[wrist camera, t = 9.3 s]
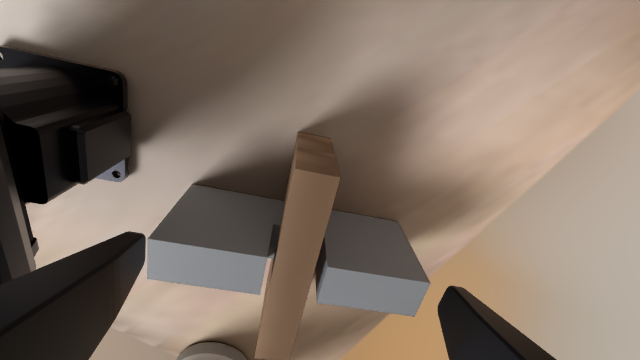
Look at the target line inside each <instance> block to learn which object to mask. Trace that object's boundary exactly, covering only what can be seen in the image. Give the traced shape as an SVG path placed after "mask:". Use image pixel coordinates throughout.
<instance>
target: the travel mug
mask: <svg viewBox="0 0 640 360" xmlns="http://www.w3.org/2000/svg"><path fill="white" fill-rule="evenodd" d="M177 360H247V359H246V357H245V356H244V355H243V354H242V353H241V352H240V351H239V350H237V349H235V348H234V347H231V346H229V345H226V344H222V343H216V342H205V343H198V344H195V345H192V346H190V347H188V348H186V349H185V350H184V351H182V352H181V353H180V355H179V356H178V357H177Z"/></svg>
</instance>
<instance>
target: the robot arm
mask: <svg viewBox="0 0 640 360" xmlns="http://www.w3.org/2000/svg"><path fill="white" fill-rule="evenodd" d="M0 52H1V53H2V54H3V57H4V60H3V59H2V58H1V57H0V360H88V359H89V358H90V357H91V355H92V354H93V352H94V351H95V349H96V348H97V346H98V345H99V343H100V342H101V340H102V338H103V337H104V335H105V334H106V332H107V331H108V329H109V328H110V326H111V325H112V323H113V322H114V320H115V319H116V317H117V315H118V313H119V311H120V309H121V308H122V306H123V304H124V302H125V300H126V298H127V296H128V294H129V292H130V290H131V288H132V286H133V284H134V283H135V281H136V279H137V277H138V275H139V273H140V271H141V269H142V267H143V265H144V262H145V242H146V239H145V235H144V234H142V233H136V232H125V233H123V234H120V235H118V236H116V237H113V238H111V239H108V240H106V241H104V242H101V243H99V244H96V245H94V246H92V247H89V248H87V249H84V250H82V251H80V252H77V253H75V254H72V255H70V256H68V257H65V258H63V259H60V260H58V261H56V262H53V263H51V264H48V265H46V266H44V267H41V268H39V269H37V270H36V264H35V260H34V256H35V255H36V253H37V251H38V250H39V247H38V242H37V239H36V238H34V237H33V235H32V231H31V226H30V222H29V218H28V214H27V210H26V206H25V205H26V204H28V203H30V202H31V203H38V204H46V203H47V202H49V201H51V200H52V199H54V198H56V197H57V196H59V195H60V194H62V193H64V192H65V191H67V190H69V189H70V188H72V187H74V186H75V185H77V184H86V183H88V182H89V181H91V180H92V179H94V178H98V179H104V180H110V181H115V182H121V181H123V180H124V179H126V178H127V177H128V174H129V169H128V157H129V156H130V155H131V115H130V114H129V112H128V111H127V81H126V78H125V76H124V75H123V74H122V73H121V72H118V71H115V70H111V69H106V68H102V67H97V66H93V65H88V64H84V63H79V62H75V61H70V60H66V59H61V58H57V57H52V56H48V55H43V54H39V53H34V52H30V51H25V50H21V49H17V48H12V47H8V46H0ZM113 76H114V77H115V78H116V79H117V80H118V84H117V85H116V84H114V83H113V81H112V78H113ZM116 171H119V172H120V174H121V176H120V175H118V174H117V173H116ZM438 315H439V319H440V323H441V328H442V332H443V336H444V340H445V344H446V348H447V352H448V356H449V360H556V359H555V358H554V357H552V356H551V355H549V354H548V353H547V352H546V351H545V350H543V349H542V348H541V347H539V346H538V345H537V344H536V343H534V342H533V341H532V340H530V339H529V338H528V337H526V336H525V335H524V334H522V333H521V332H520V331H519V330H517V329H516V328H515V327H513V326H512V325H511V324H510V323H508V322H507V321H506V320H504V319H503V318H502V317H500V316H499V315H498V314H496V313H495V312H494V311H493V310H491V309H490V308H489V307H487V306H486V305H485V304H484V303H482V302H481V301H480V300H478V299H477V298H476V297H475V296H473V295H472V294H471V293H469V292H468V291H467V290H466V289H464V288H462V287H456V286H449V287H448V288H447V289H446V291H445V293H444V295H443V297H442V299H441V301H440V303H439V305H438Z"/></svg>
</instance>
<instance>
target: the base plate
mask: <svg viewBox="0 0 640 360" xmlns="http://www.w3.org/2000/svg"><path fill="white" fill-rule="evenodd" d="M283 206H284V201H282V200H276V199H271V198H265V197H260V196H254V195H249V194H243V193H238V192H232V191H227V190H221V189H216V188H211V187H205V186H200V185H194V184H192V185H191V186H190V188H189V189H188V190H187V191H186V192H185V194H184V195H183V196H182V197H181V199H180V200H179V201H178V202H177V203H176V205H175V206H174V207H173V208H172V210H171V211H170V212H169V213H168V214H167V216H166V217H165V218H164V219H163V221H162V222H161V223H160V224H159V226H158V227H157V228H156V229H155V230H154V232H153V233H152V234H151V235H150V237H149V238H148V262H147V279H151V280H158V281H165V282H172V283H179V284H186V285H193V286H200V287H207V288H215V289H222V290H229V291H236V292H243V293H250V294H257V295H260V291H261V286H262V281H263V276H264V271H265V266H266V261H267V258H274V253H275V248H276V244H277V239H278V234H279V229H280V225H281V220H282V214H283ZM315 273H316V296H317V303H321V304H328V305H336V306H343V307H350V308H357V309H364V310H371V311H378V312H385V313H392V314H400V315H407V316H415V314H416V312H417V310H418V308H419V306H420V304H421V302H422V300H423V298H424V296H425V294H426V292H427V289H428V287H429V285H430V281H429V279H428V277H427V276H426V274H425V272H424V270H423V268H422V266H421V264H420V262H419V260H418V258H417V256H416V255H415V253H414V251H413V249H412V247H411V245H410V243H409V241H408V239H407V237H406V235H405V234H404V232H403V230H402V228H401V226H400V224H399V222H397V221H391V220H386V219H380V218H375V217H369V216H364V215H358V214H353V213H347V212H342V211H337V210H331V214H330V217H329V221H328V224H327V228H326V231H325V235H324V238H323V242H322V246H321V249H320V253H319V256H318V260H317V263H316V267H315Z"/></svg>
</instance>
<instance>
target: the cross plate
mask: <svg viewBox="0 0 640 360" xmlns="http://www.w3.org/2000/svg"><path fill="white" fill-rule="evenodd" d="M340 178H341V177H340V174H339V170H338V166H337V162H336V158H335V155H334V151H333V147H332V143H331V139H330V138H325V137H320V136H316V135H311V134H306V133H302V132H298V135H297V140H296V145H295V149H294V154H293V159H292V164H291V169H290V173H289V178H288V183H287V188H286V193H285V199H284V206H283V214H282V220H281V225H280V229H279V234H278V239H277V244H276V248H275V253H274V258H272V260H271V265H270V270H269V274H268V279H267V284H266V290H265V296H264V302H263V308H262V315H261V321H260V327H259V333H258V339H257V345H256V351H255V357H254V358H256V359H265V360H289V359H290V356H291V352H292V349H293V345H294V341H295V338H296V334H297V331H298V327H299V324H300V320H301V317H302V313H303V309H304V306H305V302H306V299H307V295H308V292H309V288H310V285H311V281H312V277H313V274H314V270H315V267H316V263H317V260H318V256H319V253H320V249H321V246H322V242H323V238H324V235H325V231H326V228H327V224H328V221H329V217H330V214H331V210H332V206H333V203H334V199H335V196H336V192H337V189H338V185H339V182H340Z"/></svg>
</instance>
